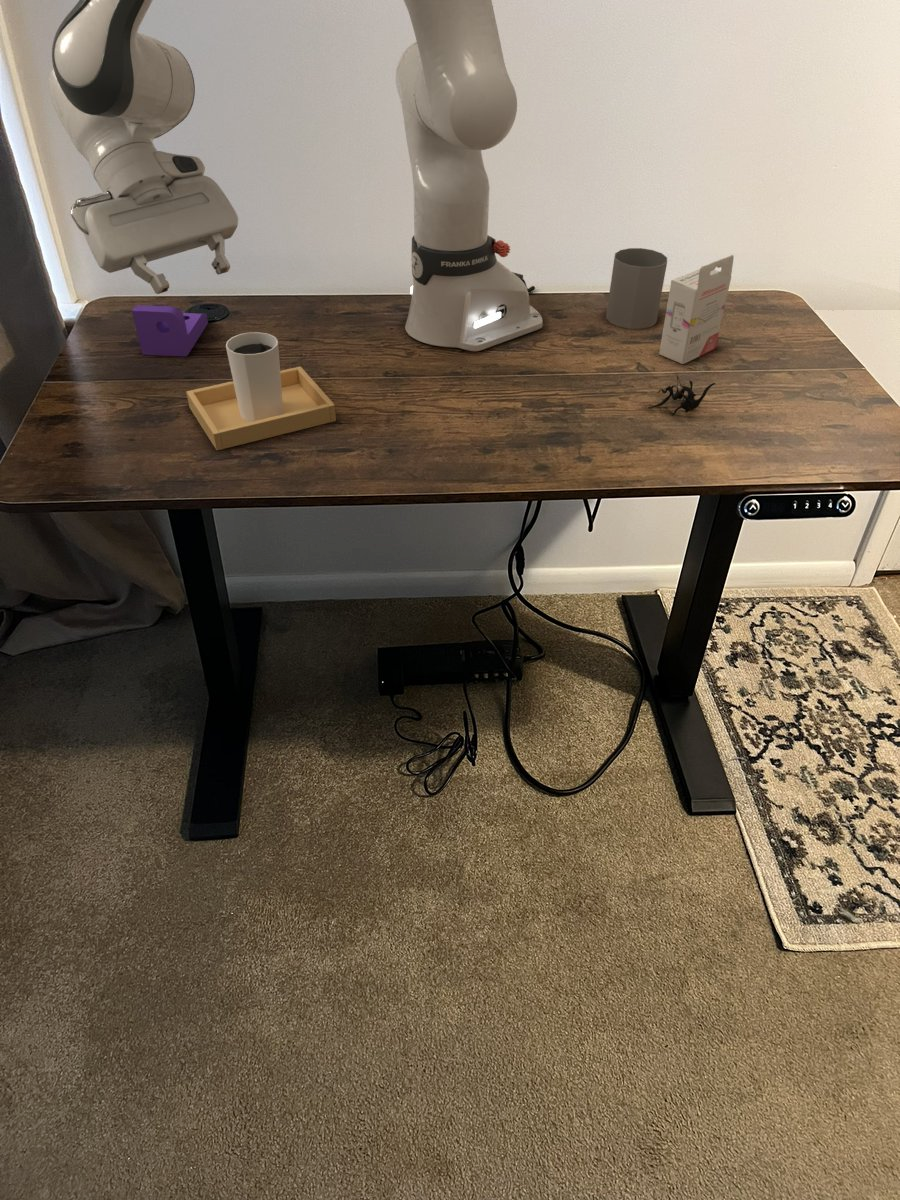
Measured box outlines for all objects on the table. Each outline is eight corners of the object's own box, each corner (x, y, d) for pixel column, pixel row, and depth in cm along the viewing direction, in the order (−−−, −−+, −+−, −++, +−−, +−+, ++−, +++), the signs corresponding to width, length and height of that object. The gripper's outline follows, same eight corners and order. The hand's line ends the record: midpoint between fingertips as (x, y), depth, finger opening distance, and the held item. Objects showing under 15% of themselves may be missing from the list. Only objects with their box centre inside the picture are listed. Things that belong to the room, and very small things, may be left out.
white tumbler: (245, 398, 121) (235, 330, 114) (292, 402, 120) (284, 334, 113) (230, 422, 116) (218, 352, 109) (278, 426, 115) (269, 356, 108)
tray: (302, 381, 125) (300, 365, 124) (336, 420, 117) (334, 404, 115) (189, 407, 119) (185, 391, 117) (216, 450, 111) (213, 434, 109)
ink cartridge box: (690, 339, 138) (709, 245, 128) (715, 349, 135) (738, 254, 125) (656, 354, 134) (674, 258, 124) (682, 365, 131) (702, 268, 121)
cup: (620, 303, 148) (629, 244, 141) (664, 316, 144) (676, 255, 138) (597, 320, 143) (605, 259, 136) (642, 333, 139) (652, 271, 132)
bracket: (186, 356, 131) (178, 312, 126) (142, 354, 131) (131, 310, 126) (208, 323, 140) (200, 280, 135) (166, 321, 140) (157, 279, 135)
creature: (637, 410, 123) (673, 424, 116) (637, 372, 120) (675, 385, 114) (680, 398, 125) (719, 411, 119) (682, 361, 123) (721, 373, 116)
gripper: (67, 187, 104) (129, 290, 105) (210, 155, 115) (264, 248, 117) (59, 217, 109) (118, 315, 111) (197, 183, 120) (249, 272, 122)
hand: (194, 280), depth 114 cm, fingers open, 8 cm apart
